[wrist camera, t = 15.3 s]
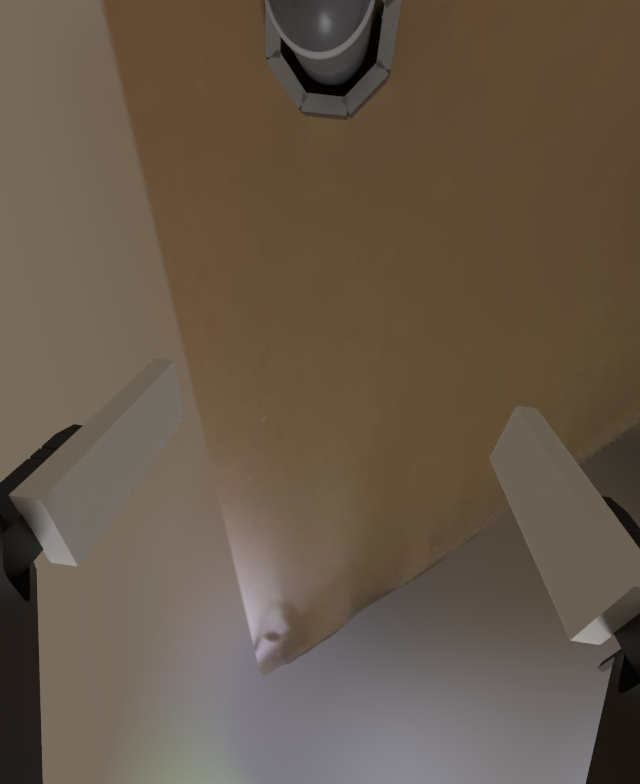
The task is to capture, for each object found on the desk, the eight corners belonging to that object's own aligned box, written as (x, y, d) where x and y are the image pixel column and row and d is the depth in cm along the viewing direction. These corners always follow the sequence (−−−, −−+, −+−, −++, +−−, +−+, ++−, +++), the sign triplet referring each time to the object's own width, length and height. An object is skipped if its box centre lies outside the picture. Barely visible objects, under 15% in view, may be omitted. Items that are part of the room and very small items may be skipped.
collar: (407, -46, 25) (412, -70, 23) (381, 123, 31) (383, 119, 28) (274, -59, 26) (265, -83, 23) (272, 111, 31) (265, 107, 29)
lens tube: (379, -11, 27) (390, -118, 17) (365, 97, 30) (368, 62, 20) (297, -19, 27) (260, -129, 17) (293, 89, 30) (261, 51, 20)
